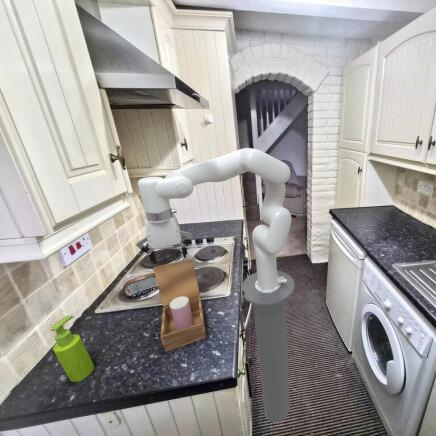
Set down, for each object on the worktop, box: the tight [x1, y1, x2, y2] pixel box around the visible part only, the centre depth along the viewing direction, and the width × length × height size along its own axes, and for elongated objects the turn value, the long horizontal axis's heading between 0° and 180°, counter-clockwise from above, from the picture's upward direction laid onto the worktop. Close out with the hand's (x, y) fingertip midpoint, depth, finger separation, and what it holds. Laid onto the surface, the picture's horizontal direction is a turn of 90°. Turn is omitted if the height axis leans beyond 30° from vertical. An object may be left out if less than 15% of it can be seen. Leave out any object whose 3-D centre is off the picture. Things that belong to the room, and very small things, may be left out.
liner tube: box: [170, 296, 194, 331], centre depth 85 cm, size 6×6×12 cm
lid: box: [153, 258, 201, 307], centre depth 92 cm, size 16×14×6 cm
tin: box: [122, 272, 159, 298], centre depth 107 cm, size 15×3×8 cm, turn 126°
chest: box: [160, 296, 207, 353], centre depth 86 cm, size 16×14×7 cm
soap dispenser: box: [49, 315, 95, 383], centre depth 69 cm, size 6×7×20 cm
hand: (170, 259), depth 82 cm, fingers open, 9 cm apart
